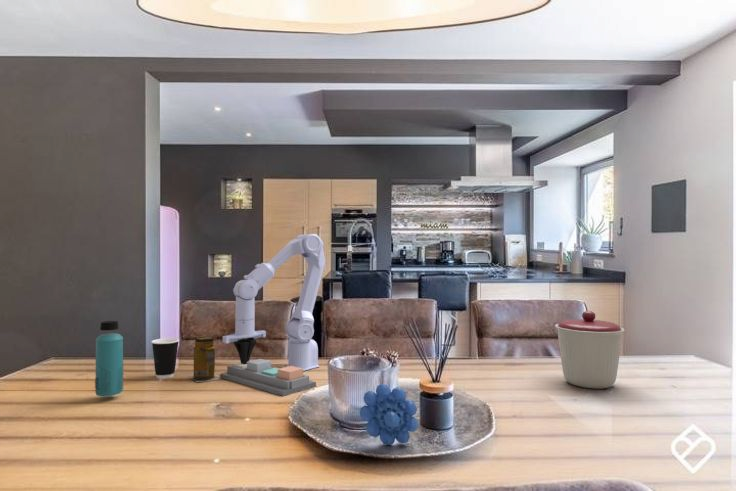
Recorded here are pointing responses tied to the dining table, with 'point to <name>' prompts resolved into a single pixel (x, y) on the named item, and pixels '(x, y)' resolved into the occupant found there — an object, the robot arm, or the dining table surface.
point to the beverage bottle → (109, 361)
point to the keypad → (267, 381)
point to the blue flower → (389, 414)
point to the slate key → (258, 365)
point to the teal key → (271, 372)
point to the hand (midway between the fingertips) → (244, 363)
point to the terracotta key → (290, 373)
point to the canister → (589, 351)
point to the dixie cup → (165, 356)
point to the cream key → (240, 365)
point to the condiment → (204, 360)
